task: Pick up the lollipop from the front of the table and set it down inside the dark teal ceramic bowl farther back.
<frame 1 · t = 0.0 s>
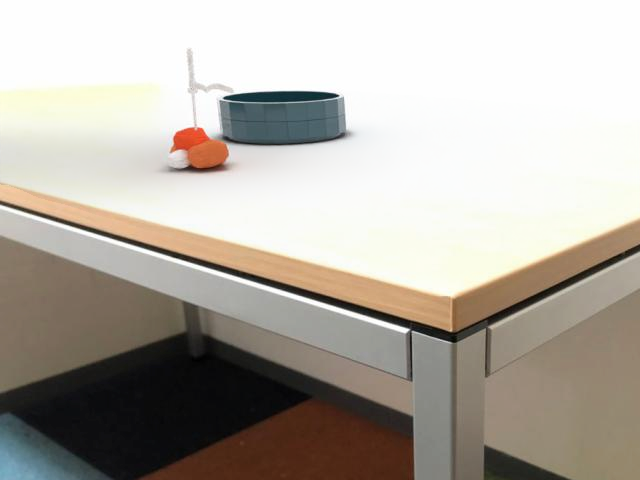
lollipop: (205, 170, 79), on the table
bowl: (285, 135, 100), on the table
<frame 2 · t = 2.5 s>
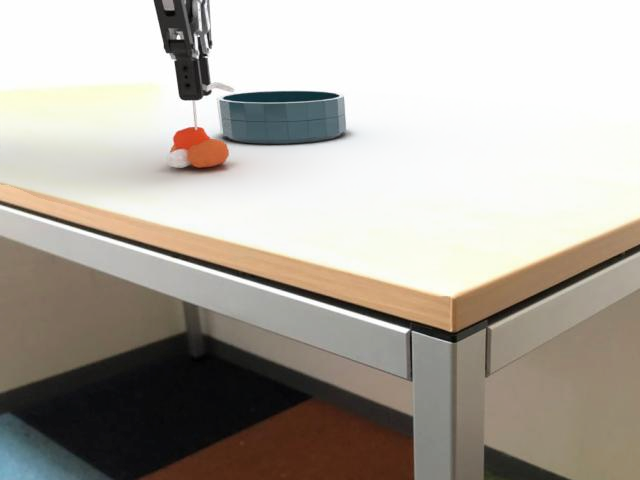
hand: (196, 96, 76), 7 cm above the table, tool pointing down, fingers open, 3 cm apart
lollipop: (205, 169, 79), on the table, touching gripper
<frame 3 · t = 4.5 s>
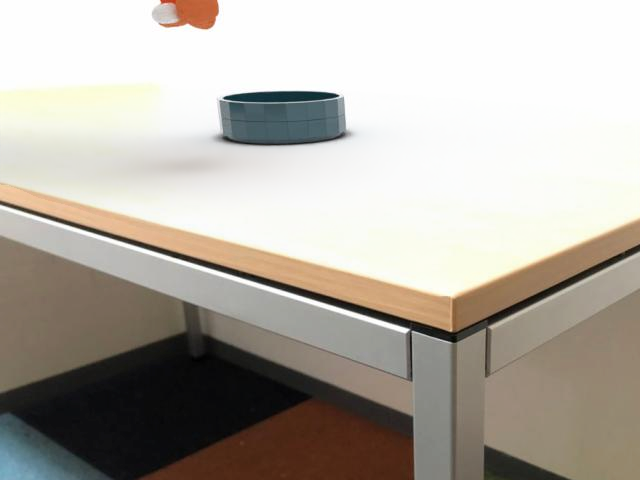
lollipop: (193, 28, 75), point 14 cm above the table, touching gripper
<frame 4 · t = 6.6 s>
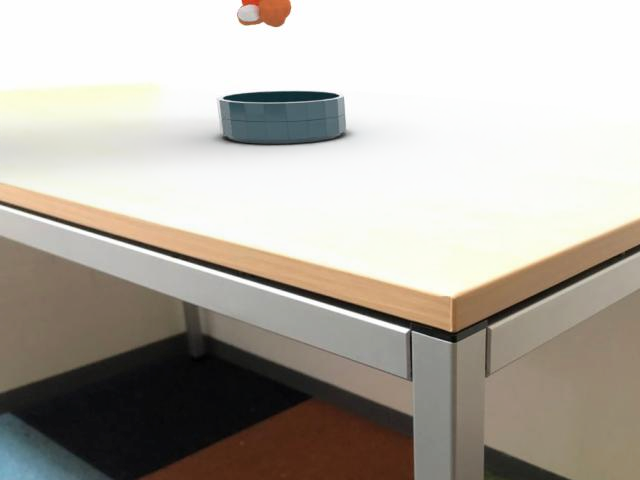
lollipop: (270, 25, 93), point 14 cm above the table, touching gripper
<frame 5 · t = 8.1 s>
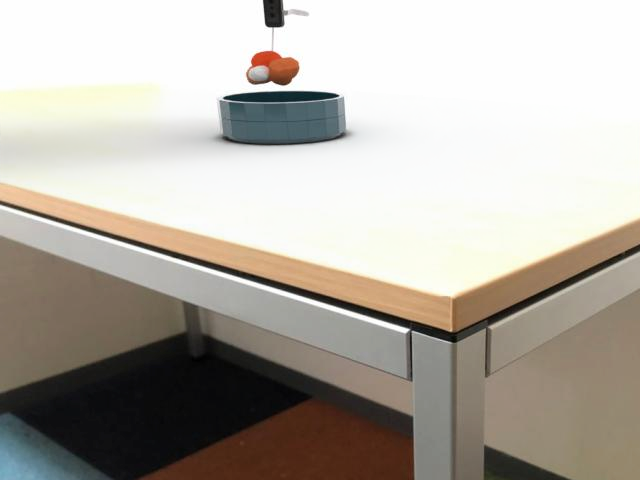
hand: (275, 26, 95), 13 cm above the table, tool pointing down, fingers closed on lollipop
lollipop: (279, 84, 97), point 7 cm above the table, touching gripper
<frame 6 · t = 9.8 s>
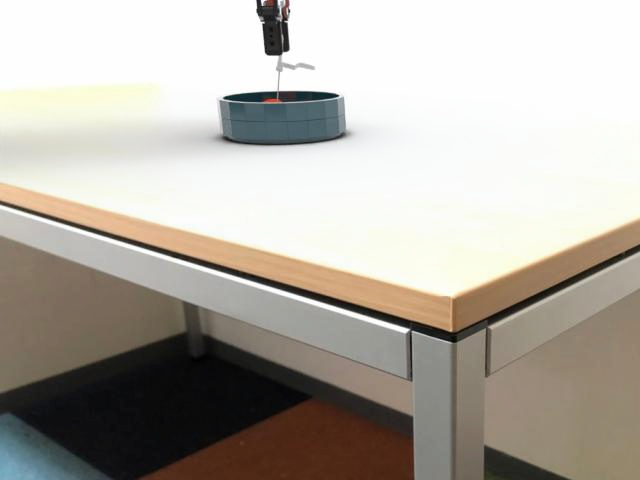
hand: (278, 53, 96), 10 cm above the table, tool pointing down, fingers open, 8 cm apart
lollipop: (283, 133, 99), resting on bowl
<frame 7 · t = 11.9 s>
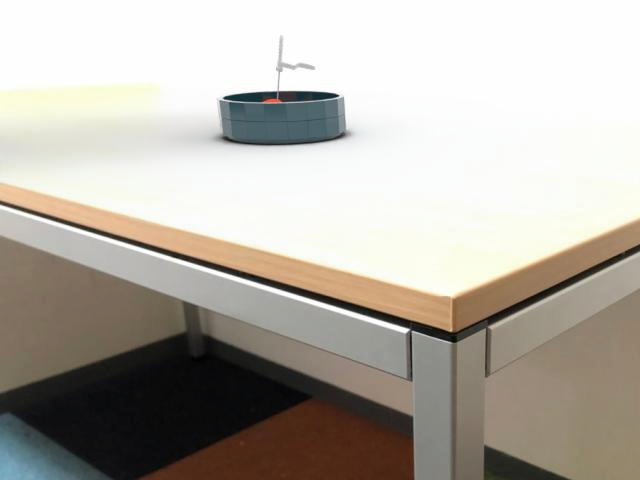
nothing on the table moved.
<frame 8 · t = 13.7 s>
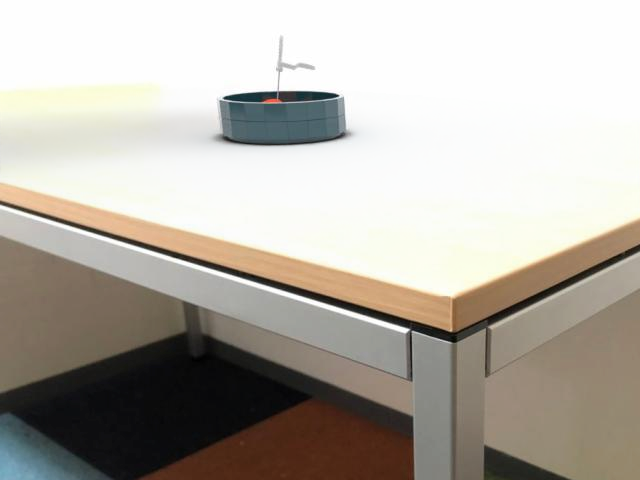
nothing on the table moved.
at the end: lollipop inside the target area in the bowl (1.2 cm from its centre), point 0.4 cm above the bowl's base; the gripper is holding nothing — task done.
